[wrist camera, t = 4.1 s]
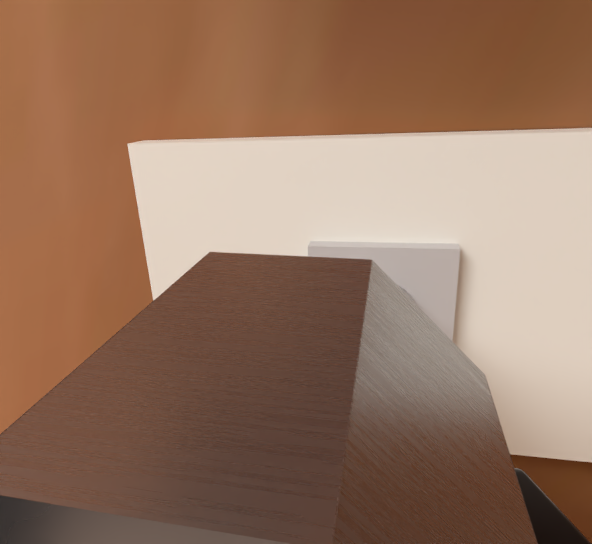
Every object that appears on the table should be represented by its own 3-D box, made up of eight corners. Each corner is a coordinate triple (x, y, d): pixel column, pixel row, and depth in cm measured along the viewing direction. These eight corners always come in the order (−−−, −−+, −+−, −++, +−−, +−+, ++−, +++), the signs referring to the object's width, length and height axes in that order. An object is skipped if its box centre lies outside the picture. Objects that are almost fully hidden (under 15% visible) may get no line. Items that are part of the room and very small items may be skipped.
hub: (501, 265, 7) (708, 611, 2) (456, 571, 9) (514, 1047, 5) (107, 247, 8) (-267, 451, 4) (154, 521, 10) (-35, 859, 6)
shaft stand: (687, 125, 14) (906, 152, 8) (610, 443, 18) (716, 618, 12) (144, 140, 18) (11, 167, 12) (184, 404, 22) (103, 525, 16)
